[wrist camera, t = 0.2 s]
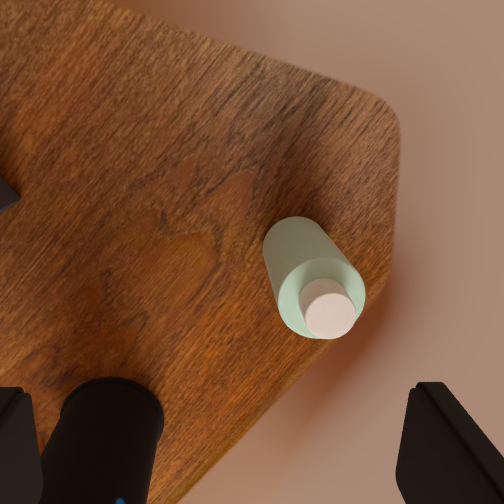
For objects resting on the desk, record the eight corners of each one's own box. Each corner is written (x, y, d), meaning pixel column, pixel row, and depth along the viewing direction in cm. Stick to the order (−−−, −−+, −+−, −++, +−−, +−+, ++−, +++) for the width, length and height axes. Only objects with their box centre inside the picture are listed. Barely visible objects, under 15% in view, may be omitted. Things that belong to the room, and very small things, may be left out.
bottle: (249, 240, 32) (264, 306, 21) (306, 203, 31) (349, 252, 21) (284, 290, 33) (314, 374, 23) (339, 255, 33) (395, 326, 22)
